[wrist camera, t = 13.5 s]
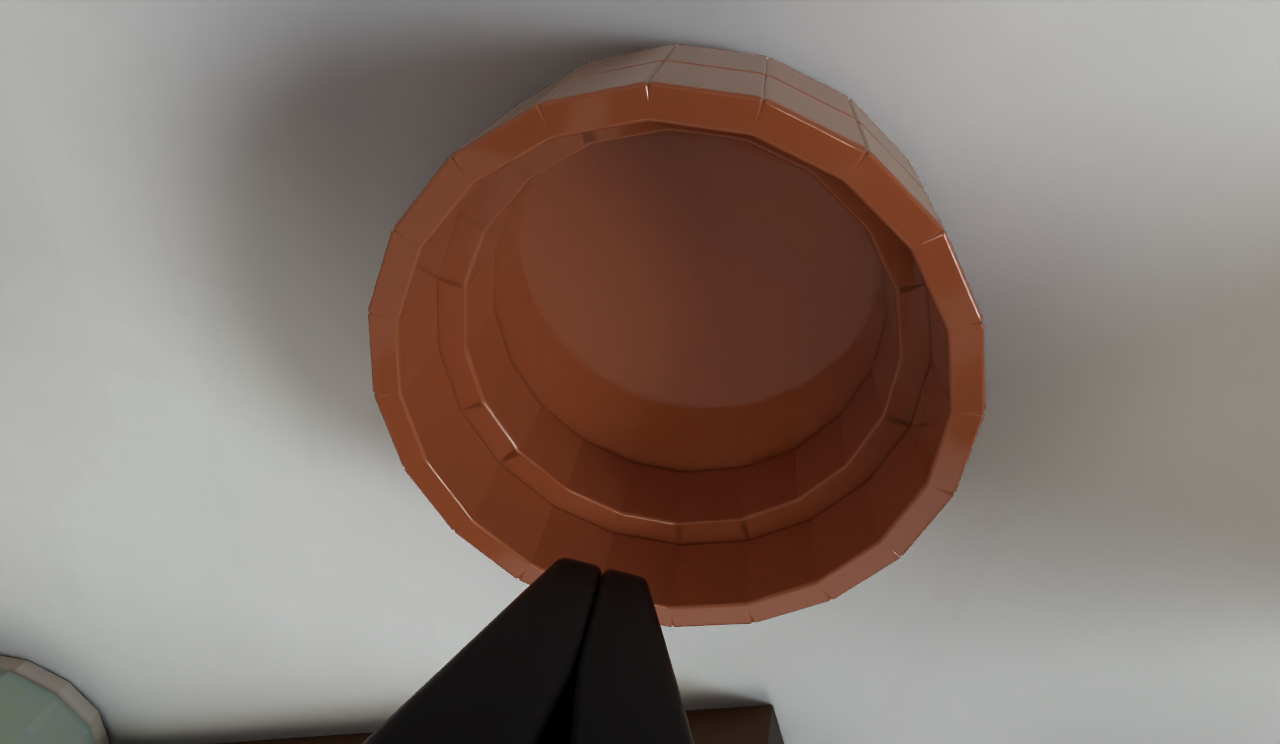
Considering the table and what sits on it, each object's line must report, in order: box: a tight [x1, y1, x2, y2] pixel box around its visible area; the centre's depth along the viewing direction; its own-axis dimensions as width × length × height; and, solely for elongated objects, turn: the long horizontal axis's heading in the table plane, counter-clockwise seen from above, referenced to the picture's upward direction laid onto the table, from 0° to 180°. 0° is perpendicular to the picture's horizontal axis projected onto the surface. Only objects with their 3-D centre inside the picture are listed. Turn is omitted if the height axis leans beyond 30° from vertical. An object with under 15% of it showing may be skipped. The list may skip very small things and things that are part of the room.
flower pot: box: [368, 44, 986, 627], centre depth 17 cm, size 11×11×5 cm
